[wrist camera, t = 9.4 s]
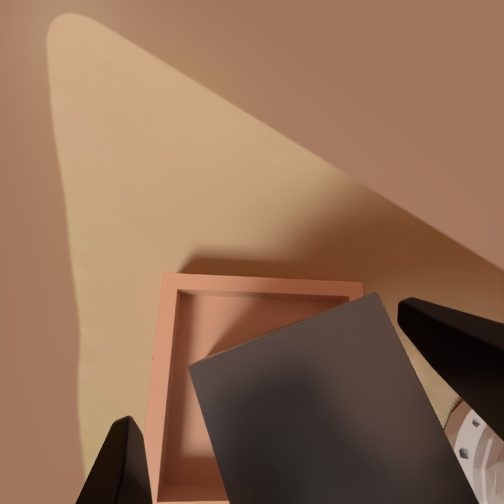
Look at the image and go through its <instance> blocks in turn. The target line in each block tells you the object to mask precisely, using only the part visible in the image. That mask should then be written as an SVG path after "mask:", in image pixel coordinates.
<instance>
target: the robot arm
mask: <svg viewBox="0 0 504 504" xmlns="http://www.w3.org/2000/svg"><path fill="white" fill-rule="evenodd" d="M397 321H398V324H399V326H400V328H401V329H402V331H403V332H404V333H405V334H406V336H407V337H408V338H409V339H410V341H411V342H412V343H413V344H414V346H415V347H416V348H417V349H418V351H419V352H420V353H421V354H422V356H423V357H424V358H425V359H426V361H427V362H428V363H429V364H430V365H431V367H432V368H433V369H434V370H435V371H436V372H437V373H438V374H439V375H440V376H441V377H442V378H443V379H444V380H445V381H446V382H447V383H448V384H449V386H450V387H451V388H452V389H453V390H454V391H455V392H456V393H457V394H458V395H459V396H460V397H461V398H462V399H463V400H464V401H465V402H466V403H467V404H468V405H469V406H470V407H471V408H472V409H473V410H474V411H475V413H476V414H477V415H478V416H479V417H480V418H481V419H482V420H483V421H484V422H485V423H486V424H487V425H488V426H489V427H490V428H491V429H492V430H493V431H494V432H495V433H496V434H497V435H498V436H499V437H500V438H501V440H502V441H503V442H504V324H503V323H499V322H496V321H492V320H489V319H485V318H482V317H479V316H475V315H472V314H468V313H465V312H461V311H458V310H455V309H451V308H448V307H444V306H441V305H437V304H434V303H431V302H427V301H424V300H420V299H417V298H413V297H409V298H406V299H404V300H402V301H400V302H399V304H398V316H397ZM76 504H153V501H152V493H151V486H150V479H149V472H148V465H147V458H146V451H145V444H144V439H143V435H142V432H141V431H140V429H139V427H138V426H137V424H136V423H135V421H134V420H133V418H132V417H131V416H125V417H123V418H121V419H118V420H116V421H115V422H114V423H113V424H112V426H111V428H110V430H109V433H108V435H107V437H106V439H105V441H104V443H103V445H102V448H101V450H100V452H99V454H98V456H97V458H96V461H95V463H94V465H93V467H92V469H91V471H90V473H89V476H88V478H87V480H86V482H85V484H84V486H83V488H82V491H81V493H80V495H79V497H78V499H77V502H76Z"/></svg>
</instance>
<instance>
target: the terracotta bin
mask: <svg viewBox="0 0 504 504" xmlns="http://www.w3.org/2000/svg"><path fill="white" fill-rule="evenodd" d="M363 296H364V294H363V282H350V281H328V280H307V279H286V278H264V277H243V276H222V275H200V274H179V273H163V275H162V284H161V293H160V302H159V310H158V319H157V328H156V337H155V346H154V355H153V364H152V373H151V381H150V390H149V399H148V408H147V417H146V426H145V435H144V444H145V451H146V458H147V465H148V472H149V479H150V486H151V493H152V501H153V504H230V503H229V500H228V497H227V493H226V490H225V487H224V484H223V480H222V477H221V474H220V471H219V467H218V464H217V461H216V457H215V454H214V451H213V448H212V444H211V441H210V438H209V435H208V431H207V428H206V425H205V422H204V418H203V415H202V412H201V409H200V405H199V402H198V399H197V396H196V392H195V389H194V386H193V383H192V379H191V376H190V373H189V370H188V366H189V365H191V364H193V363H195V362H197V361H199V360H201V359H203V358H205V357H207V356H209V355H212V354H214V353H217V352H220V351H222V350H225V349H227V348H230V347H232V346H235V345H237V344H240V343H242V342H245V341H247V340H250V339H252V338H255V337H258V336H260V335H263V334H265V333H268V332H270V331H273V330H275V329H278V328H280V327H283V326H286V325H288V324H291V323H294V322H296V321H299V320H302V319H304V318H307V317H310V316H312V315H315V314H318V313H320V312H323V311H326V310H328V309H331V308H334V307H336V306H339V305H342V304H344V303H347V302H350V301H352V300H355V299H358V298H360V297H363Z"/></svg>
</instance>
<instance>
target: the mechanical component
mask: <svg viewBox="0 0 504 504" xmlns="http://www.w3.org/2000/svg"><path fill="white" fill-rule="evenodd" d="M444 432H445V434H446V436H447V438H448V440H449V442H450V444H451V446H452V448H453V450H454V452H455V454H456V456H457V459H458V461H459V463H460V465H461V467H462V469H463V471H464V473H465V475H466V477H467V479H468V481H469V483H470V485H471V487H472V489H473V491H474V494H475V496H476V498H477V500H478V502H479V504H504V442H503V441H502V440H501V438H500V437H499V436H498V435H497V434H496V433H495V432H494V431H493V430H492V429H491V428H490V427H489V426H488V425H487V424H486V423H485V422H484V421H483V420H482V419H481V418H480V417H479V416H478V415H477V414H476V413H475V411H474V410H473V409H472V408H471V407H470V406H469V405H468V404H467V403H466V402H465V401H464V400H463V401H462V402H461V403H460V405H459V406H458V407H457V408H456V409H455V410H454V411H453V412H452V413H451V415H450V417H449V420H448V423H447V425H446V428H445V430H444Z"/></svg>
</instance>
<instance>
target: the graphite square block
mask: <svg viewBox="0 0 504 504" xmlns="http://www.w3.org/2000/svg"><path fill="white" fill-rule="evenodd" d="M188 370H189V373H190V376H191V379H192V383H193V386H194V389H195V392H196V396H197V399H198V402H199V405H200V409H201V412H202V415H203V418H204V422H205V425H206V428H207V431H208V435H209V438H210V441H211V444H212V448H213V451H214V454H215V457H216V461H217V464H218V467H219V471H220V474H221V477H222V480H223V484H224V487H225V490H226V493H227V497H228V500H229V503H230V504H479V502H478V500H477V498H476V496H475V494H474V491H473V489H472V487H471V485H470V483H469V481H468V479H467V477H466V475H465V473H464V471H463V469H462V467H461V465H460V463H459V461H458V459H457V456H456V454H455V452H454V450H453V448H452V446H451V444H450V442H449V440H448V438H447V436H446V434H445V432H444V430H443V428H442V426H441V424H440V421H439V419H438V417H437V415H436V413H435V411H434V409H433V407H432V405H431V403H430V401H429V399H428V397H427V395H426V393H425V391H424V389H423V386H422V384H421V382H420V380H419V378H418V376H417V374H416V372H415V370H414V368H413V366H412V364H411V362H410V360H409V358H408V356H407V354H406V351H405V349H404V347H403V345H402V343H401V341H400V339H399V337H398V335H397V333H396V331H395V329H394V327H393V325H392V323H391V321H390V319H389V316H388V314H387V312H386V310H385V308H384V306H383V304H382V302H381V300H380V298H379V296H378V294H377V292H374V293H371V294H368V295H366V296H363V297H360V298H358V299H355V300H352V301H350V302H347V303H344V304H342V305H339V306H336V307H334V308H331V309H328V310H326V311H323V312H320V313H318V314H315V315H312V316H310V317H307V318H304V319H302V320H299V321H296V322H294V323H291V324H288V325H286V326H283V327H280V328H278V329H275V330H273V331H270V332H268V333H265V334H263V335H260V336H258V337H255V338H252V339H250V340H247V341H245V342H242V343H240V344H237V345H235V346H232V347H230V348H227V349H225V350H222V351H220V352H217V353H214V354H212V355H209V356H207V357H205V358H203V359H201V360H199V361H197V362H195V363H193V364H191V365H189V366H188Z"/></svg>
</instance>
